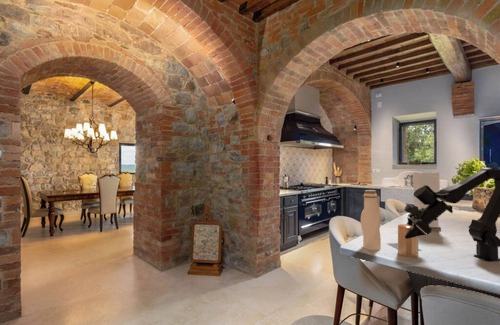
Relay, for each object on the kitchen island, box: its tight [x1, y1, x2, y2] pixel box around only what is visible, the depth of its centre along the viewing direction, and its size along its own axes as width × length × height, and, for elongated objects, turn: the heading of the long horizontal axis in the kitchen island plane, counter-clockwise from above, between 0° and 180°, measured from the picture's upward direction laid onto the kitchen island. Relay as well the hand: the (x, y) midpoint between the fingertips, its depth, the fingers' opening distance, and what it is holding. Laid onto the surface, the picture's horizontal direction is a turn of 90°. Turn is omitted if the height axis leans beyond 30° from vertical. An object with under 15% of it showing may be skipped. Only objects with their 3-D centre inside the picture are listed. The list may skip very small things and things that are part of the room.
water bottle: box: [360, 189, 382, 251], centre depth 126 cm, size 10×9×28 cm
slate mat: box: [387, 242, 423, 252], centre depth 125 cm, size 12×10×1 cm
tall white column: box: [412, 171, 442, 232], centre depth 161 cm, size 11×11×35 cm
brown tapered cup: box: [397, 223, 419, 258], centre depth 115 cm, size 8×8×13 cm
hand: (403, 235), depth 116 cm, fingers open, 9 cm apart
